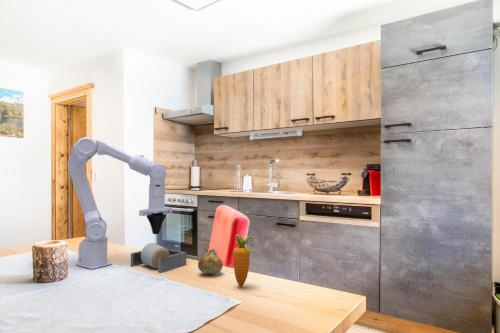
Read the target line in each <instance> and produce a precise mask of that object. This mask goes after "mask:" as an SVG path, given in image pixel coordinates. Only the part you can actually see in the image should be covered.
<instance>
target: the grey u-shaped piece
mask: <svg viewBox="0 0 500 333" xmlns="http://www.w3.org/2000/svg"><path fill="white" fill-rule="evenodd" d="M166 249H167V250H168V252H169V254H170V256H167V257H163V258H159V259H158V269H157V273H158V274H162V273H165V272H168V271H172V270H174V269H177V268H180V267H185V266H187V255H188V254H187V251H182V250H175V249H169V248H166ZM141 251H142V250H140V251H136V252H132V253H130V267H137V266H140V265H145V264H144V263H143V262H142V260H141Z"/></svg>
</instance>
